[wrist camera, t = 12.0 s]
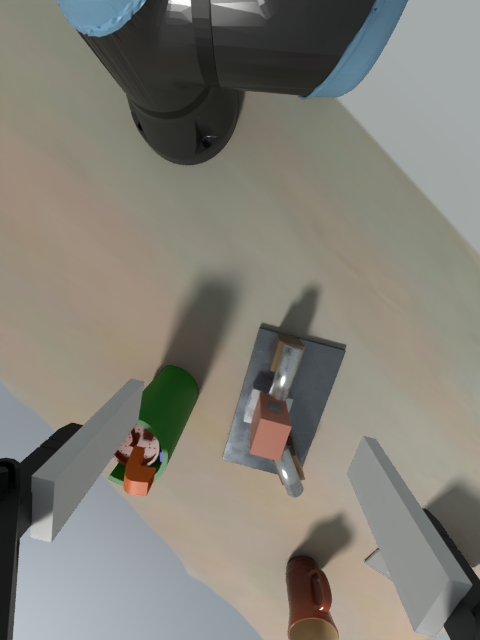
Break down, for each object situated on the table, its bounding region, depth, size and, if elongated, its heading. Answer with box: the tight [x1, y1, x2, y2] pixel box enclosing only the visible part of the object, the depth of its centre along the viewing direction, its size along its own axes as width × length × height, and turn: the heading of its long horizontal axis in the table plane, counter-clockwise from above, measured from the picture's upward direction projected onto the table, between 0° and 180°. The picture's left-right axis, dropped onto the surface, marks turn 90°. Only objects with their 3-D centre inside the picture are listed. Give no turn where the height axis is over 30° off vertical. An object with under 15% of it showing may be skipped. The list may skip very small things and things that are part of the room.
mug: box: [286, 556, 339, 640], centre depth 48 cm, size 12×9×10 cm
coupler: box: [250, 394, 292, 462], centre depth 39 cm, size 7×4×7 cm, turn 166°
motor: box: [108, 366, 198, 496], centre depth 36 cm, size 10×9×20 cm
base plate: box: [222, 328, 346, 474], centre depth 42 cm, size 27×15×8 cm, turn 166°
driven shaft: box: [273, 437, 305, 497], centre depth 43 cm, size 8×4×7 cm, turn 21°
